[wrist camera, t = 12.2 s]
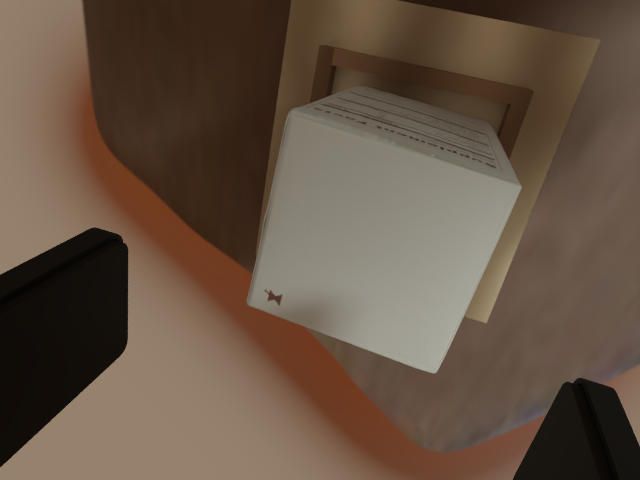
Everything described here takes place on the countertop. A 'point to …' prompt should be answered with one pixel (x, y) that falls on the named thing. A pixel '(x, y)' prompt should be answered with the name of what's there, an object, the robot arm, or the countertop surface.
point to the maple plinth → (442, 86)
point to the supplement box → (382, 222)
